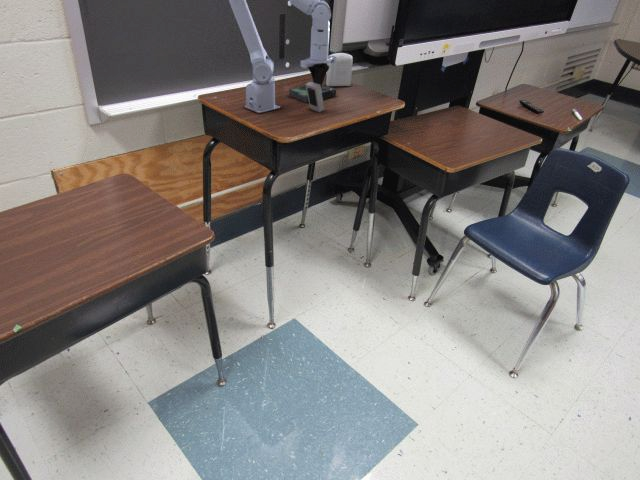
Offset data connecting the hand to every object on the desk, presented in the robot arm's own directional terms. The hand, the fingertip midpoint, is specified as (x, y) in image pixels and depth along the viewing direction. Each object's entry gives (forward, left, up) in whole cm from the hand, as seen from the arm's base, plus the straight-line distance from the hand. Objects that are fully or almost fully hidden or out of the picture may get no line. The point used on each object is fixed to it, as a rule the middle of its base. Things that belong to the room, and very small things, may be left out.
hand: (317, 87), depth 151 cm
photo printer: (+29, +17, -8) cm, 35 cm away
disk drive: (+10, +12, -8) cm, 18 cm away
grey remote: (0, 0, -7) cm, 7 cm away
